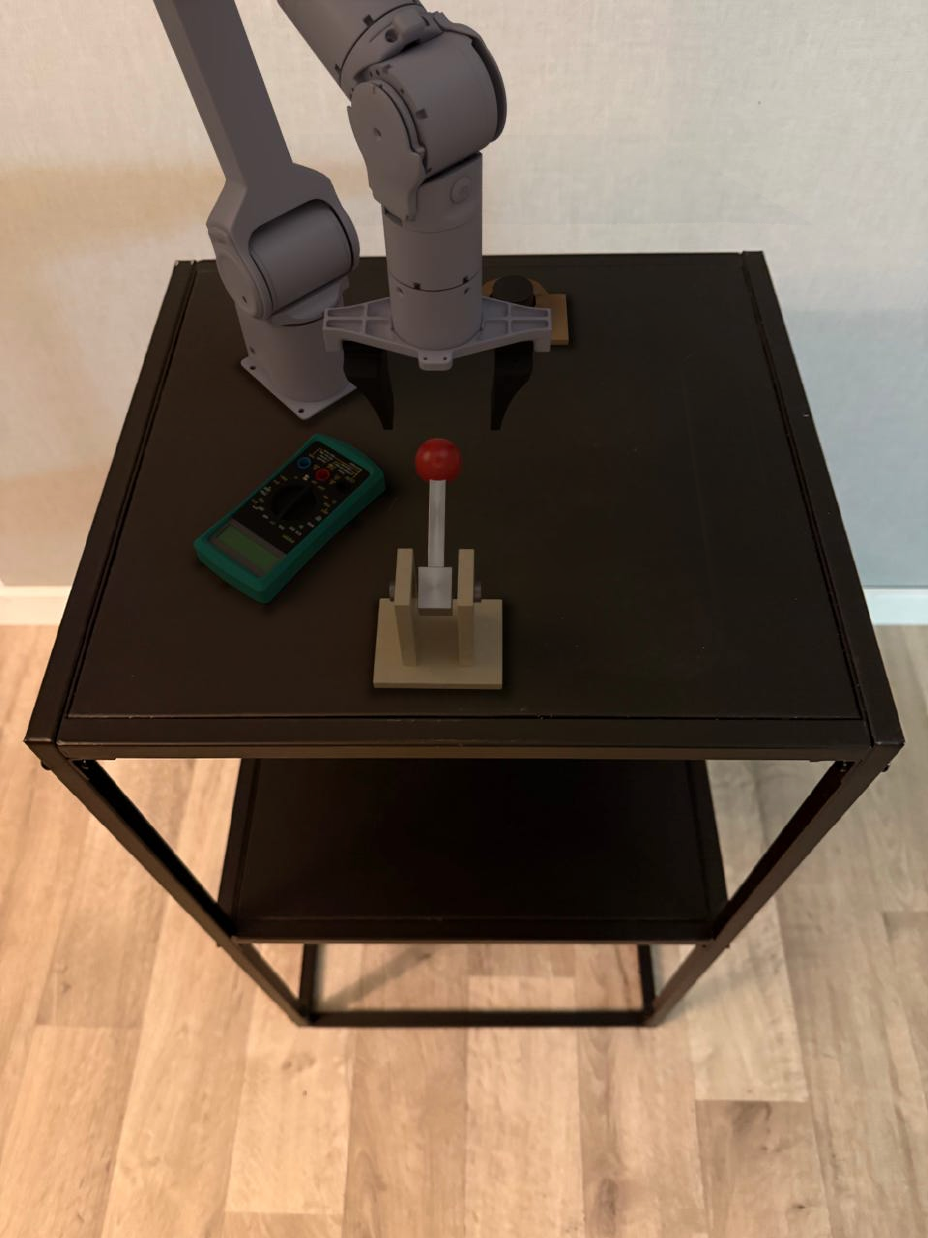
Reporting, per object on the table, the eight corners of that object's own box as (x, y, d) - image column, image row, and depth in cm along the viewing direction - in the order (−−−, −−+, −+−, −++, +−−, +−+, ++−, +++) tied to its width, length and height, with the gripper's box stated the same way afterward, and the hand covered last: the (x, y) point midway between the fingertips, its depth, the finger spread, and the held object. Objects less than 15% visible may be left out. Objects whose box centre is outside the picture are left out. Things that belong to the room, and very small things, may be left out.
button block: (456, 347, 84) (455, 325, 82) (457, 298, 88) (457, 276, 86) (568, 347, 84) (570, 325, 82) (565, 298, 88) (567, 275, 85)
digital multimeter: (393, 487, 76) (390, 463, 74) (265, 612, 70) (257, 590, 68) (325, 446, 78) (320, 421, 76) (196, 563, 72) (186, 540, 70)
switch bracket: (381, 606, 70) (368, 531, 62) (501, 607, 70) (504, 532, 62) (374, 690, 67) (360, 622, 59) (502, 691, 66) (505, 623, 58)
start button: (492, 317, 83) (492, 301, 82) (492, 290, 85) (492, 273, 84) (533, 317, 83) (534, 301, 82) (532, 289, 85) (533, 273, 84)
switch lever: (417, 448, 66) (413, 430, 62) (462, 448, 65) (462, 430, 62) (412, 617, 63) (409, 607, 60) (460, 617, 63) (459, 607, 60)
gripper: (306, 305, 54) (336, 461, 66) (558, 305, 54) (544, 462, 65) (318, 227, 58) (345, 388, 69) (554, 226, 58) (542, 389, 69)
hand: (442, 419), depth 68 cm, fingers open, 7 cm apart
